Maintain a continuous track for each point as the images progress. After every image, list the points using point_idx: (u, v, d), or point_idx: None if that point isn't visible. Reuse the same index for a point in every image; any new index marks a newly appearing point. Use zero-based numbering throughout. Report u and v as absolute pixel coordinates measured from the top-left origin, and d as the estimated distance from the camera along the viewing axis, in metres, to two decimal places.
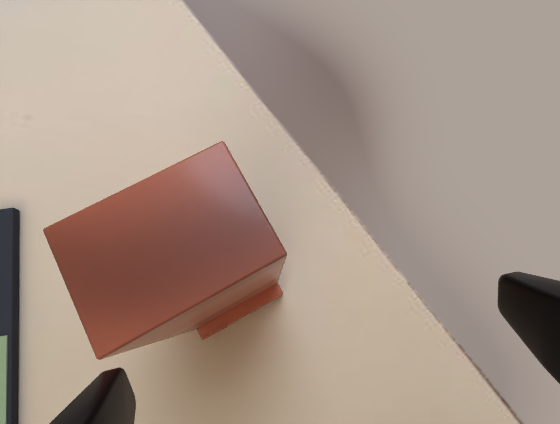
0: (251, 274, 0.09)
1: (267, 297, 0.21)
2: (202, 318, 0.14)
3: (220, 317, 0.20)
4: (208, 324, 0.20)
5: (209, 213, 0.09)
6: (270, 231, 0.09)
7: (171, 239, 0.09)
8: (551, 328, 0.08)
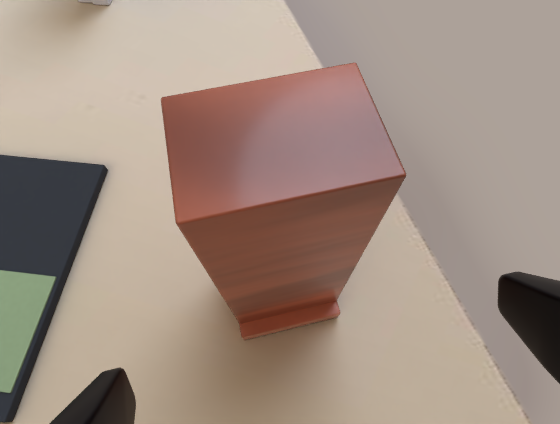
0: (362, 184, 0.08)
1: (322, 312, 0.19)
2: (263, 283, 0.13)
3: (267, 319, 0.18)
4: (252, 322, 0.18)
5: (329, 119, 0.09)
6: (391, 149, 0.08)
7: (283, 133, 0.09)
8: (551, 328, 0.08)
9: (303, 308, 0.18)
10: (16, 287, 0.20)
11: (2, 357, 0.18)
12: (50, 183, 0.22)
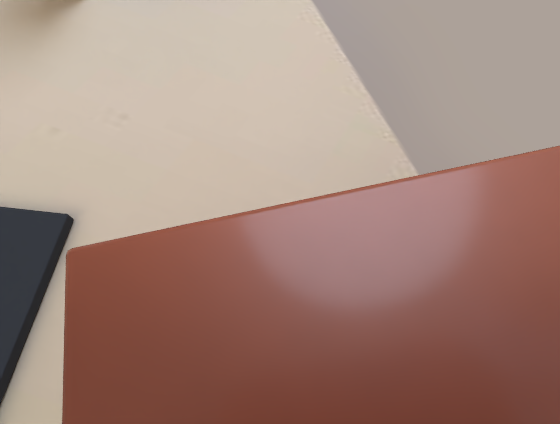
0: None
1: None
2: None
3: None
4: None
5: None
6: None
7: (502, 419, 0.02)
8: None
9: None
10: None
11: None
12: None
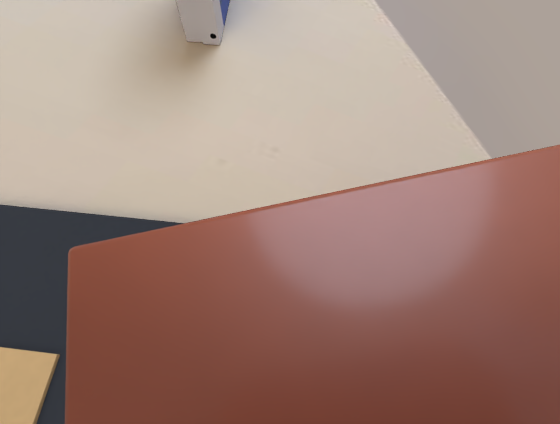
0: None
1: None
2: None
3: None
4: None
5: None
6: None
7: (505, 417, 0.02)
8: None
9: None
10: None
11: None
12: None
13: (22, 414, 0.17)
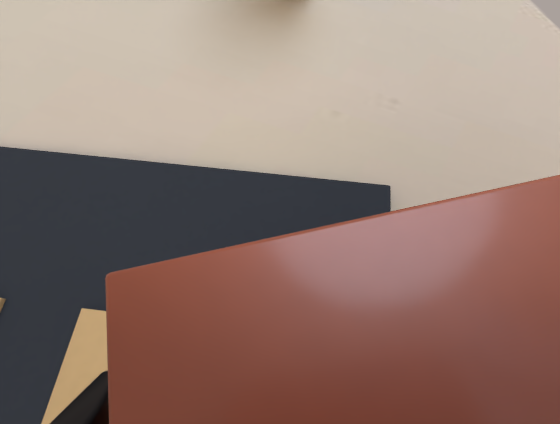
0: None
1: None
2: None
3: None
4: None
5: None
6: None
7: (466, 416, 0.03)
8: None
9: None
10: None
11: None
12: (333, 209, 0.18)
13: None
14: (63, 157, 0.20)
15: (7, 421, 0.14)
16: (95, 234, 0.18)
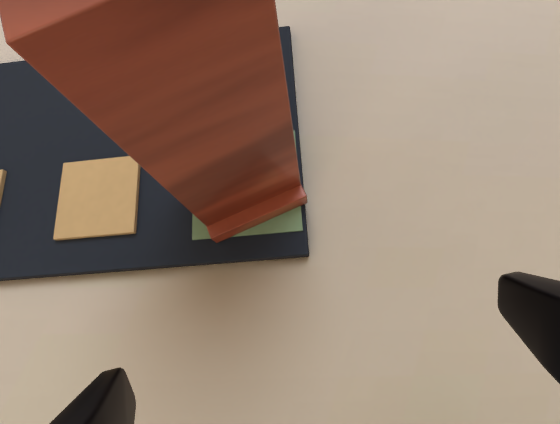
0: None
1: (288, 198, 0.18)
2: (193, 156, 0.12)
3: (233, 216, 0.18)
4: (219, 222, 0.18)
5: None
6: None
7: None
8: (551, 328, 0.08)
9: (267, 198, 0.18)
10: None
11: None
12: None
13: (124, 202, 0.20)
14: (23, 64, 0.24)
15: (30, 244, 0.20)
16: (62, 113, 0.22)
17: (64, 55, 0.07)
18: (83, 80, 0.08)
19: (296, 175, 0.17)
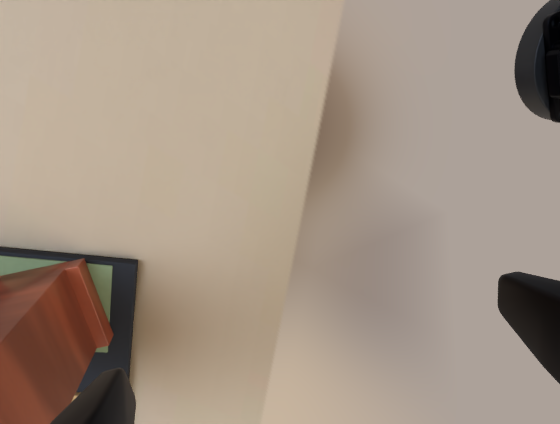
0: None
1: (78, 282, 0.19)
2: (33, 423, 0.14)
3: (90, 327, 0.20)
4: (94, 338, 0.20)
5: None
6: None
7: None
8: (551, 328, 0.08)
9: (75, 299, 0.19)
10: None
11: None
12: None
13: None
14: None
15: None
16: None
17: None
18: None
19: (55, 284, 0.18)
